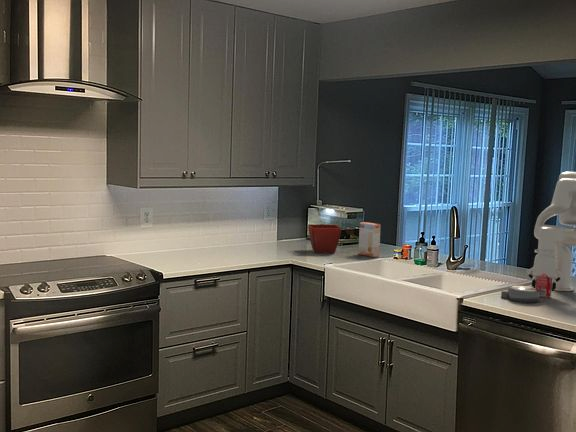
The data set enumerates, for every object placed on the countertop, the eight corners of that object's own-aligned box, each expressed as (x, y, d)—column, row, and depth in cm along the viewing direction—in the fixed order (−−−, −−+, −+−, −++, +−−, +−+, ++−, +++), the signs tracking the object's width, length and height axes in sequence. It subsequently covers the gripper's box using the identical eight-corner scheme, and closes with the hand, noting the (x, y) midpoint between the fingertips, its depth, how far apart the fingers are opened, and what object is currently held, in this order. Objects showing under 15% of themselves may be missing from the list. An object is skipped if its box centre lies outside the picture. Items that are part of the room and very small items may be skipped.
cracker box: (379, 257, 402) (381, 224, 400) (372, 257, 399) (374, 224, 396) (365, 253, 414) (366, 221, 411) (357, 254, 410) (359, 222, 408)
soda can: (547, 294, 307) (548, 270, 305) (553, 298, 300) (555, 273, 298) (532, 294, 306) (534, 270, 305) (538, 297, 299) (540, 272, 298)
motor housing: (504, 294, 305) (505, 283, 304) (541, 299, 297) (542, 287, 296) (499, 299, 292) (499, 288, 292) (537, 305, 285) (538, 293, 284)
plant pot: (307, 249, 425) (307, 224, 423) (335, 249, 427) (336, 224, 425) (311, 253, 406) (312, 227, 404) (340, 254, 408) (341, 228, 407)
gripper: (525, 252, 302) (523, 288, 304) (565, 256, 294) (562, 293, 295) (527, 250, 308) (525, 285, 310) (566, 253, 300) (564, 290, 302)
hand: (543, 289), depth 303 cm, fingers open, 7 cm apart
